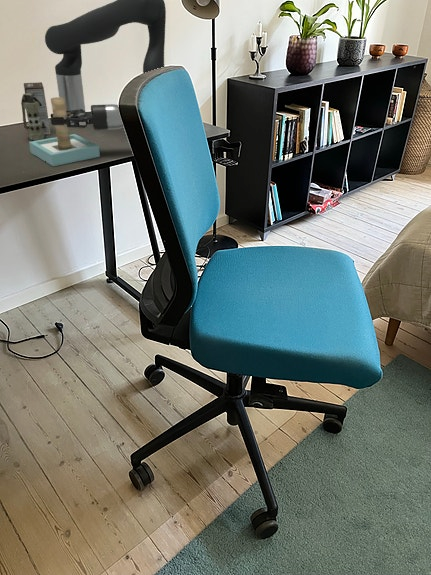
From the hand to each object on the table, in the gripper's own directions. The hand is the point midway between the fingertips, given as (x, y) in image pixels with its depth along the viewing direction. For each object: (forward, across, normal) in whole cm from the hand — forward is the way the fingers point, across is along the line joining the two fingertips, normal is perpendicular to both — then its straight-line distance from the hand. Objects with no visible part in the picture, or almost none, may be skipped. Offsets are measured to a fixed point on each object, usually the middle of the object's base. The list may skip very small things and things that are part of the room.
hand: (51, 119), depth 144 cm
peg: (-3, 0, +9) cm, 9 cm away
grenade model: (+7, -20, +11) cm, 24 cm away
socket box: (-3, 0, +11) cm, 11 cm away
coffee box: (+5, -28, +11) cm, 31 cm away
